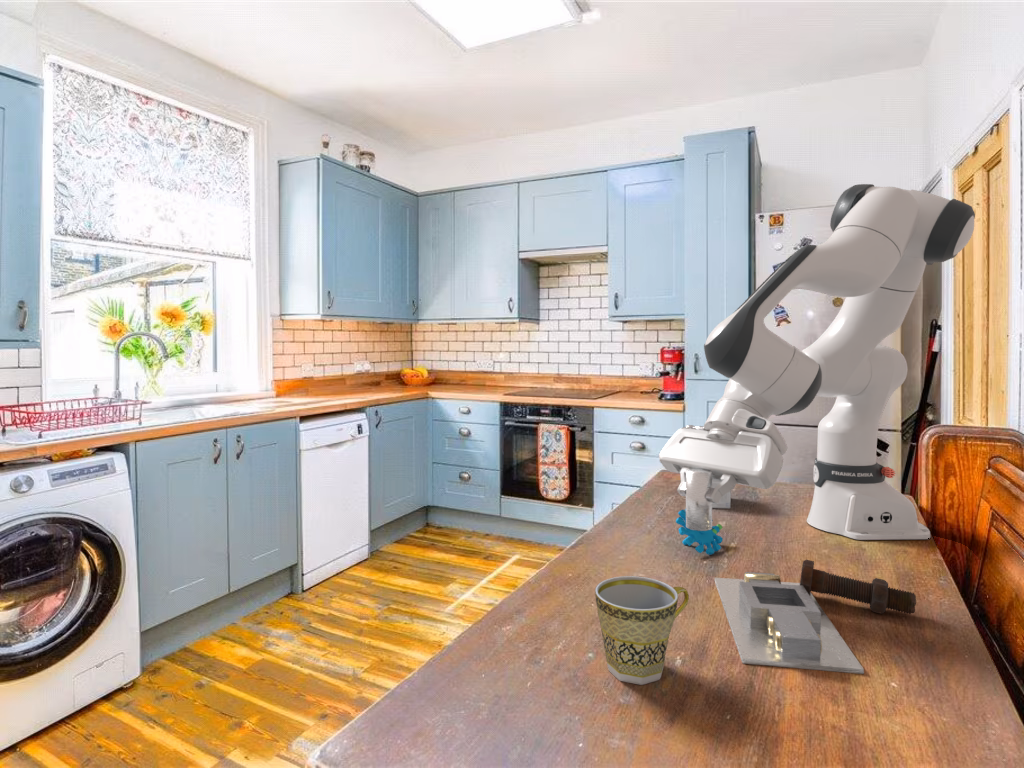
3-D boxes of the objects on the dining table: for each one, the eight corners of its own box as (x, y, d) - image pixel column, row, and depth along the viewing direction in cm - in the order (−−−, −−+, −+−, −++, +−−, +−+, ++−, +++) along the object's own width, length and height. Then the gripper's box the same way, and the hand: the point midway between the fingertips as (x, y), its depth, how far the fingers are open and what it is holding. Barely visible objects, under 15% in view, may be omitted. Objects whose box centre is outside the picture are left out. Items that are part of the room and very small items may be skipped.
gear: (694, 552, 111) (672, 505, 117) (675, 567, 114) (655, 520, 120) (737, 550, 116) (713, 504, 122) (718, 564, 119) (696, 520, 126)
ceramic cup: (624, 701, 68) (625, 616, 68) (580, 659, 78) (580, 583, 77) (714, 675, 74) (715, 595, 73) (662, 638, 83) (663, 567, 82)
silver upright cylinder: (710, 523, 98) (710, 468, 98) (713, 531, 94) (713, 474, 94) (684, 522, 99) (684, 468, 98) (687, 530, 95) (686, 473, 94)
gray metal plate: (804, 586, 99) (804, 565, 99) (863, 674, 74) (864, 645, 73) (714, 581, 102) (715, 560, 101) (742, 663, 76) (742, 635, 76)
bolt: (911, 631, 87) (797, 601, 95) (911, 603, 91) (801, 577, 98) (918, 605, 84) (800, 577, 92) (917, 577, 88) (804, 552, 95)
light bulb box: (695, 496, 155) (695, 454, 154) (722, 497, 154) (723, 455, 153) (702, 508, 145) (703, 463, 144) (731, 509, 144) (732, 464, 143)
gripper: (673, 413, 108) (636, 475, 103) (783, 423, 92) (746, 497, 86) (689, 435, 111) (654, 496, 106) (798, 449, 95) (763, 522, 89)
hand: (696, 497), depth 96 cm, fingers closed on silver upright cylinder, 4 cm apart
